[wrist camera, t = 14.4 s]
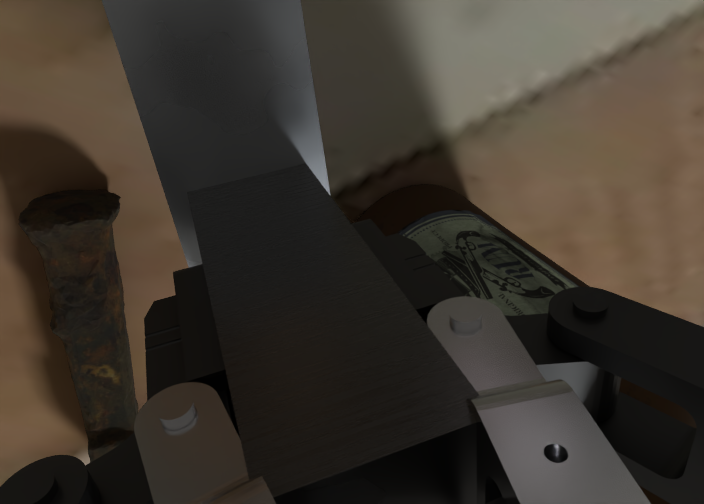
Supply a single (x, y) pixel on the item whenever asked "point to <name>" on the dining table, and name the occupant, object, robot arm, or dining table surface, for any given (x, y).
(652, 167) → the dining table surface
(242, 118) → the scraper
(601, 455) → the robot arm
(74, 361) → the hand tool
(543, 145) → the dining table surface
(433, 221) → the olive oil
